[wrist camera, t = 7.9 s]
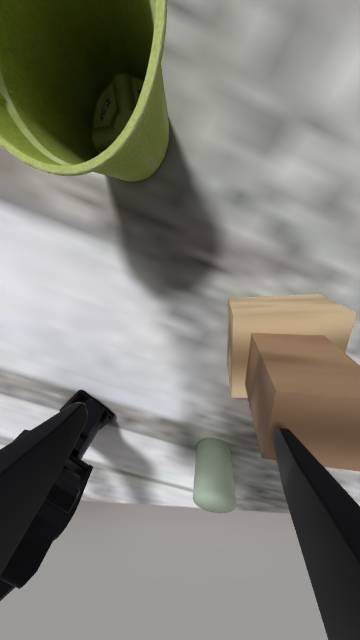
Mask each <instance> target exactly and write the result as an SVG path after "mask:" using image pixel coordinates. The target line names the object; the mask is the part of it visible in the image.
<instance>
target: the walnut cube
mask: <svg viewBox="0 0 360 640" xmlns="http://www.w3.org/2000/svg"><path fill="white" fill-rule="evenodd" d="M245 387H246V391H247V396H248V400H249V404H250V409H251V413H252V417H253V422H254V426H255V431H256V435H257V439H258V444H259V448H260V452H261V457H262V458H266V459H274V460H277V457H276V452H275V447H274V439H275V435H276V432H277V429H278V428H287V429H289V430H290V431H291V432H292V433H293V434H294V435H295V436H296V437H297V438H298V439H299V440H300V442H301V443H302V444H303V445H304V446H305V447H306V448H307V449H308V450H309V451H310V452H311V454H312V455H313V456H314V457H315V458H316V459H317V460H318V461H319V462H320V463H321V465H322V466H324V467H332V468H339V469H346V470H353V471H360V366H359V365H358V364H357V363H356V362H355V361H354V360H352V359H351V358H350V357H349V356H348V355H346V354H345V353H344V352H343V351H342V350H341V349H339V348H338V347H337V346H336V345H335V344H333V343H332V342H331V341H330V340H329V339H328V338H326V337H325V336H324V335H297V334H269V333H251V340H250V348H249V355H248V363H247V371H246V379H245Z"/></svg>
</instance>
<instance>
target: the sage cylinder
mask: <svg viewBox="0 0 360 640" xmlns="http://www.w3.org/2000/svg"><path fill="white" fill-rule="evenodd" d="M193 500H194V502H195V504H196V505H197V506H199V507H200V508H202V509H204V510H206V511H209V512H213V513H227V512H230V511H232V510H234V509H235V507H236V500H235V489H234V478H233V467H232V456H231V448H230V446H229V445H228V444H227V443H226V442H224V441H222V440H220V439H216V438H206V439H203V440H201V441H199V442H198V444H197V449H196V462H195V476H194V490H193Z"/></svg>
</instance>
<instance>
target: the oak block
mask: <svg viewBox="0 0 360 640" xmlns="http://www.w3.org/2000/svg"><path fill="white" fill-rule="evenodd" d="M356 314H357V313H356V312H354V311H352V310H350V309H348V308H346V307H344V306H342V305H340V304H338V303H336V302H334V301H332V300H330V299H328V298H326V297H324V296H322V295H320V294H310V295H287V296H263V297H240V298H228V373H229V381H230V389H231V397H235V398H248V396H247V391H246V387H245V379H246V371H247V363H248V355H249V348H250V340H251V333H269V334H297V335H324V336H325V337H326V338H328V339H329V340H330V341H331V342H332V343H333V344H335V345H336V346H337V347H338V348H339V349H341V350H342V351H343V352H344V353H345V351H346V348H347V344H348V341H349V337H350V334H351V331H352V327H353V324H354V320H355V317H356Z"/></svg>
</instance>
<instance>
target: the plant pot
mask: <svg viewBox="0 0 360 640" xmlns="http://www.w3.org/2000/svg"><path fill="white" fill-rule="evenodd" d="M166 19H167V0H0V145H1V146H2V147H4V148H5V149H6V150H7V151H8V152H9V153H11V154H12V155H13V156H15V157H16V158H18V159H19V160H21V161H22V162H24V163H26V164H28V165H30V166H32V167H34V168H36V169H39V170H41V171H44V172H47V173H51V174H56V175H62V176H77V175H83V174H87V173H90V172H96V173H100V174H103V175H107V176H110V177H114V178H117V179H120V180H124V181H128V182H134V181H139V180H143V179H146V178H148V177H149V176H151V175H152V174H153V173H154V172H155V171H156V170H157V169H158V168H159V166H160V164H161V163H162V161H163V159H164V156H165V154H166V150H167V146H168V141H169V120H168V112H167V105H166V99H165V92H164V84H163V76H162V69H161V60H162V54H163V49H164V41H165V33H166ZM141 89H142V91H141V94H139V93H138V91H139V90H141ZM108 99H109V100H110V101H111V104H110V106H109V107H108V109H107V111H106V113H105V116H104V117H103V121H101V113H102V109H103V106H104V104H105V102H106V101H107V100H108Z"/></svg>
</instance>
